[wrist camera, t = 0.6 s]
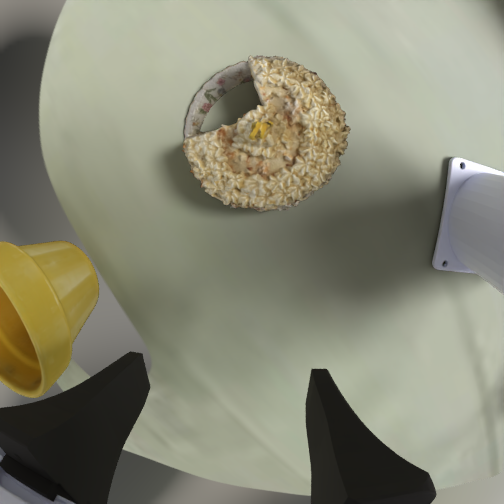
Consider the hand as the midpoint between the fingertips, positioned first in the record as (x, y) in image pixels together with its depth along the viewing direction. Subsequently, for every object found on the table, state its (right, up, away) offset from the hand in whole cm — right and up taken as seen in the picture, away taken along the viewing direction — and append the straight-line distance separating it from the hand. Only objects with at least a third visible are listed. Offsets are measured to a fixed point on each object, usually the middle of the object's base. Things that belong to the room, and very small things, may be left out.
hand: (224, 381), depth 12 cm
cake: (+2, +13, +6) cm, 14 cm away
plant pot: (-14, +3, +10) cm, 18 cm away
